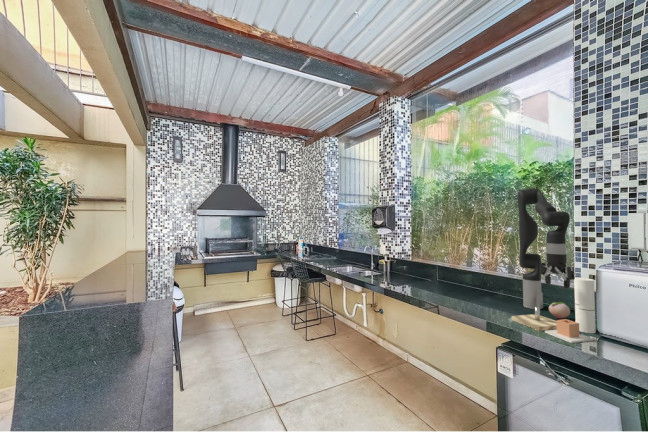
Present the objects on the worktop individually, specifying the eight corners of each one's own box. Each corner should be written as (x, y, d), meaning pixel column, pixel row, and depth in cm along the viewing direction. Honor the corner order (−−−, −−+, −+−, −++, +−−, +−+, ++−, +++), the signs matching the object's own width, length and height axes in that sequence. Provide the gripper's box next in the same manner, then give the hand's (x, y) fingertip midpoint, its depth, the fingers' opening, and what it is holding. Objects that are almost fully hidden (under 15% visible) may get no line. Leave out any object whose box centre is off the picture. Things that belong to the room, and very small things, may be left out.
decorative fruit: (562, 323, 146) (561, 303, 147) (546, 317, 154) (545, 299, 155) (574, 321, 149) (574, 302, 149) (558, 316, 157) (557, 298, 157)
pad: (565, 330, 137) (565, 328, 137) (593, 340, 125) (593, 338, 125) (545, 332, 134) (544, 330, 134) (571, 343, 123) (571, 341, 123)
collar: (566, 331, 133) (566, 319, 133) (579, 336, 127) (579, 323, 127) (557, 332, 132) (556, 320, 132) (569, 337, 126) (569, 324, 126)
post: (537, 319, 147) (537, 306, 147) (541, 320, 145) (540, 308, 145) (534, 319, 146) (533, 307, 146) (537, 320, 144) (537, 308, 144)
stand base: (536, 317, 155) (536, 314, 155) (566, 328, 139) (566, 324, 139) (511, 319, 152) (511, 316, 152) (539, 331, 136) (539, 326, 136)
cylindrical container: (585, 327, 140) (583, 277, 141) (600, 333, 133) (598, 280, 133) (571, 327, 140) (570, 277, 140) (585, 333, 133) (583, 280, 133)
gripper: (578, 254, 129) (579, 289, 129) (547, 250, 143) (548, 282, 143) (565, 254, 127) (566, 290, 127) (535, 251, 141) (536, 283, 141)
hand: (557, 286), depth 135 cm, fingers open, 8 cm apart
